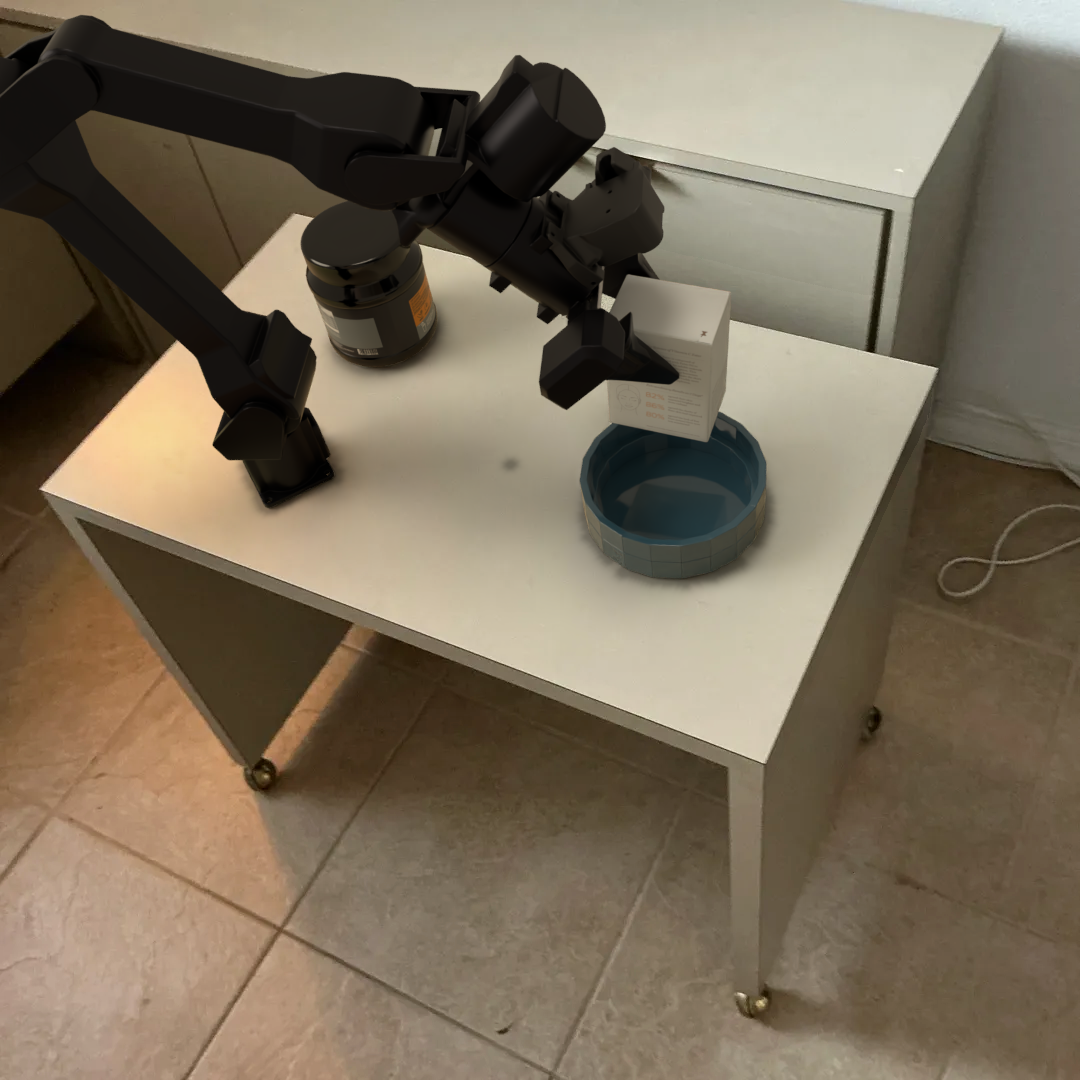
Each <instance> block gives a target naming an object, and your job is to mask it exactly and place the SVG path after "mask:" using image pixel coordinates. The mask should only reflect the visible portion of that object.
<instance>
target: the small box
mask: <svg viewBox="0 0 1080 1080" xmlns="http://www.w3.org/2000/svg"><path fill="white" fill-rule="evenodd" d="M731 306H732V292H731V291H730V290H723V289H717V288H711V287H704V286H698V285H692V284H687V283H681V282H676V281H669V280H664V279H660V280H658V279H652V278H646V277H640V276H634V275H630V274H628V275H627V276H626V278H625V280H624V282H623V284H622V286H621V288H620V290H619V293H618V295H617V297H616V299H614V301H613V303H612V305H611V308H610V309H609V311H608V312H609V313H610V314H612V315H613V316H615V317H616V318H617V319H618V321H619V320H621V319H622V318H623V317H624V316H626V315H627V314H628V313H629V312H631V313H632V316H633V328H634V334H635V335H636V336H637V337H638V338H639V339H641V340H642V341H643V342H644V343H645V344H647V345H648V346H649V347H650V348H652V349H653V350H654V351H655V352H656V353H658V354H659V355H660V356H661V357H662V358H664V359H665V360H666V361H667V362H668V363H669V364H670V365H671V366H672V367H674V368H675V369H676V370H677V371H678V373H679V379H678V380H676V381H675V382H674V383H672V384H670V385H665V384H654V383H643V382H632V381H619V380H606V391H607V407H608V421H609V423H610V424H611V423H615V424H621V425H626V426H630V427H635V428H640V429H645V430H650V431H654V432H659V433H664V434H669V435H673V436H678V437H684V438H688V439H693V440H698V441H703V442H708V440H709V437H710V434H711V431H712V429H713V426H714V423H715V420H716V417H717V414H718V412H719V411H720V410H721V409H720V408H721V406H722V403H723V399H724V397H725V394H726V392H727V377H728V358H729V345H730V344H729V342H730V323H731V311H732V310H731V309H732V307H731Z"/></svg>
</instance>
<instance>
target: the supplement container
mask: <svg viewBox="0 0 1080 1080" xmlns="http://www.w3.org/2000/svg"><path fill="white" fill-rule="evenodd" d="M299 244H300V250H301V254H302V256H303V258H304V261H305V263H306V269H305V278H306V283H307V285H308V288H309V290H310V292H311V293H312V296H313V297H314V300H315V302H316V305H317V308H318V311H319V314H320V316H321V319H322V321H323V324H324V327H325V329H326V332H327V336H328V339H329V340H328V341H329V343H330V345H331V347H332V348H333V350H334V351H335V353H337V355H339V357H340V358H342V359H343V360H345V361H346V362H348V363H350V364H353V365H356V366H359V367H363V368H384V367H389V366H393V365H397V364H400V363H402V362H405V361H407V360H409V359H411V358H413V357H415V356H416V355H417V354H419V353H420V352H421V351H423V350H424V349H425V348H426V347H427V345H428V344H429V343H430V342H431V341H432V339H433V337H434V335H435V333H436V330H437V327H438V320H439V319H438V318H439V317H438V310H437V306H436V304H435V301H434V299H433V295H432V291H431V287H430V283H429V280H428V276H427V272H426V269H425V264H424V257H423V256H424V255H423V252H422V251H423V250H422V247H421V245H420V243H419V242H418V240H417V238H416V239H415V241H414V242H413V243H412V244H411V245H410V246H408V247H403V246H402V245H401V244H400V242H399V234H398V226H397V222H396V219H395V216H394V215H393V213H392V210H389V211H379V210H371V209H368V208H365V207H362V206H360V205H357V204H355V203H352V202H350V201H347V200H344V201H342V202H339V203H337V204H334V205H331V206H329V207H328V208H326V209H324V210H322V211H321V212H320V213H318V214H317V215H316V216H314V218H312V219H311V220H310V221H309V223H308V224H307V225H306V226H305V228H304V230H303V231H302V234H301V237H300V243H299Z"/></svg>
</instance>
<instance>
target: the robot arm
mask: <svg viewBox="0 0 1080 1080" xmlns="http://www.w3.org/2000/svg"><path fill="white" fill-rule="evenodd" d="M91 111H92V112H98V113H101V114H104V115H109V116H112V117H116V118H120V119H124V120H128V121H132V122H135V123H139V124H143V125H147V126H151V127H155V128H158V129H163V130H166V131H170V132H175V133H178V134H180V135H181V134H182V135H185V136H190V137H193V138H196V139H200V140H205V141H209V142H213V143H217V144H220V145H223V146H227V147H232V148H235V149H239V150H243V151H247V152H251V153H254V154H259V155H263V156H267V157H269V158H273V159H276V160H278V161H281V162H283V163H285V164H288V165H290V166H292V168H294V169H295V170H296V171H298V172H299V173H300V174H301V175H302V176H303V177H304V178H305V179H307V180H308V181H309V182H310V183H311V184H312V185H314V186H315V187H316V188H317V189H319V190H321V191H323V192H325V193H328V194H330V195H333V196H335V197H338V198H340V199H343V200H344V201H350V202H352V203H355V204H357V205H360V206H362V207H365V208H368V209H371V210H379V211H389V210H392V213H393V215H394V216H395V219H396V222H397V226H398V234H399V242H400V244H401V245H402V246H403V247H408V246H410V245H411V244H412V243H413V242H414V241H415V239H416V240H417V239H418V237H419V236H420V235H421V234H422V233H423V232H424V231H425V230H426V229H427V230H428V231H430V232H431V233H433V234H434V235H436V236H437V237H439V238H440V239H442V240H443V241H444V242H446V243H448V244H449V245H451V246H452V247H454V248H455V249H457V250H458V251H459V252H461V253H463V254H464V255H466V256H468V257H469V258H470V259H472V260H473V261H475V262H476V263H478V264H479V265H481V266H482V267H484V268H485V269H487V270H488V271H490V278H489V283H488V286H489V287H490V288H492V289H493V290H494V291H497V292H498V293H499V294H502V293H503V292H504V291H506V290H507V288H508V287H510V285H511V286H512V287H514V288H515V289H516V290H518V291H520V292H521V293H523V294H524V295H526V296H527V297H528V298H530V299H532V300H533V301H535V302H536V303H538V304H537V312H536V318H537V319H539V320H540V321H542V322H543V323H545V324H546V325H549V324H550V323H551V322H552V321H554V320H555V319H556V318H557V317H558V316H563V317H565V319H566V320H567V321H566V322H567V323H566V325H565V327H564V328H562V329H561V330H559V332H558V333H556V334H555V335H554V336H553V337H552V338H551V339H549V340H548V341H547V342H546V343H545V344H544V345H543V346H542V353H541V361H540V369H539V377H538V385H539V386H538V387H539V393H540V395H541V397H543V398H545V399H547V400H548V401H550V402H551V403H553V404H554V405H556V406H558V407H559V408H561V409H563V410H566V411H568V410H569V409H570V408H572V407H573V406H574V405H576V404H577V403H579V402H580V401H581V400H582V399H584V398H585V397H586V396H587V395H589V394H590V393H591V392H593V391H594V390H595V389H596V388H597V387H599V386H600V385H602V384H603V383H604V382H605V381H607V380H619V381H632V382H643V383H654V384H665V385H670V384H672V383H674V382H675V381H676V380H678V379H679V373H678V371H677V370H676V369H675V368H674V367H672V366H671V365H670V364H669V363H668V362H667V361H666V360H665V359H664V358H662V357H661V356H660V355H659V354H658V353H656V352H655V351H654V350H653V349H652V348H650V347H649V346H648V345H647V344H645V343H644V342H643V341H642V340H641V339H639V338H638V337H637V336H636V335H635V334H634V328H633V316H632V313H631V312H629V313H628V314H627V315H626V316H624V317H623V318H622V319H621V320H619V321H618V319H617V318H616V317H615V316H613V315H612V314H610V313H609V312H610V311H608V310H607V309H604V308H603V307H602V298H603V295H604V296H607V297H610V298H611V299H614V300H615V299H616V297H617V295H618V293H619V290H620V288H621V286H622V284H623V282H624V280H625V278H626V276H627V275H628V274H630V275H634V276H640V277H646V278H652V279H658V280H661V279H660V277H659V276H658V275H657V273H656V271H654V269H653V267H652V266H651V265H650V263H649V262H648V260H647V259H646V256H645V255H644V254H647V253H649V252H651V251H653V250H655V249H656V248H657V247H658V246H659V245H660V244H661V243H662V242H663V239H664V228H663V219H664V217H663V216H664V213H665V205H664V203H663V202H662V200H661V199H660V197H659V195H658V193H657V192H656V190H655V189H654V187H653V186H652V175H653V174H652V173H653V172H652V169H651V168H650V167H649V166H646V165H642V164H641V162H640V161H639V160H636V159H635V158H634V157H632V156H630V155H628V154H627V153H626V152H624V151H622V150H620V149H618V148H617V147H615V146H613V147H611V148H608V149H607V150H604V151H602V152H600V153H597V155H596V156H595V166H594V167H595V168H594V179H593V180H591V182H587V183H586V184H585V188H583V190H582V191H581V192H579V194H578V195H577V196H576V197H574V199H571V198H568V197H566V196H565V195H564V194H562V193H560V192H559V191H558V190H554V191H552V190H551V189H552V188H553V187H554V185H556V184H557V182H558V181H560V179H561V178H562V177H564V175H566V174H567V172H569V170H570V169H571V168H572V167H573V166H574V165H576V163H577V162H579V160H580V159H582V157H584V155H585V154H587V152H588V151H589V150H590V149H592V147H593V146H594V145H596V143H598V141H600V139H601V138H603V136H604V134H605V132H606V129H607V123H606V116H605V114H604V111H603V108H602V107H601V105H600V103H599V101H598V99H597V97H596V96H595V94H594V93H593V92H592V91H591V89H590V87H588V86H587V84H586V83H585V82H584V81H583V80H582V79H581V78H580V77H578V75H576V74H575V73H574V72H573V71H572V70H570V69H569V68H568V67H563V68H562V67H560V66H558V65H556V64H553V63H550V62H543V61H542V62H541V61H540V62H537V63H535V64H532V63H531V62H530V61H529V60H528V59H526V58H525V57H523V56H522V55H521V54H515V55H514V56H513V57H512V58H511V60H509V62H508V63H507V64H506V66H504V68H503V70H502V72H501V74H500V76H499V78H498V80H497V81H496V82H495V84H493V86H492V87H491V89H489V90H488V92H487V93H486V94H485V95H484V96H483V98H482V99H481V94H480V93H479V92H478V91H476V90H469V89H454V88H453V89H452V88H440V87H428V86H427V87H426V86H414V84H411V83H410V82H407V81H405V80H403V79H400V78H397V77H393V76H385V75H375V74H367V73H359V72H358V73H357V72H349V71H341V72H335V73H330V74H325V75H319V76H314V77H300V76H291V75H285V74H282V73H278V72H274V71H271V70H267V69H263V68H259V67H255V66H252V65H250V64H249V65H248V64H246V63H242V62H238V61H233V60H230V59H228V58H227V59H226V58H222V57H220V56H216V55H211V54H208V53H205V52H200V51H197V50H193V49H190V48H186V47H182V46H179V45H175V44H171V43H168V42H163V41H160V40H156V39H153V38H149V37H146V36H142V35H137V34H135V33H130V32H127V31H123V30H119V29H115V28H113V27H111V25H109V24H108V23H107V22H106V21H105V20H103V19H100V18H98V17H96V16H93V15H87V14H79V15H76V16H73V17H69V18H67V19H65V20H64V21H63V22H62V23H60V25H59V26H58V27H57V28H55V29H54V30H52V31H48V32H46V33H43V34H39V35H35V36H33V37H31V38H30V39H28V40H26V41H25V42H24V43H22V44H21V45H20V46H18V47H17V48H15V49H14V50H11V52H9V53H8V54H7V55H5V56H4V57H3V56H0V209H1V210H5V211H8V212H12V213H15V214H19V215H24V216H27V217H31V218H34V219H39V220H42V221H43V222H45V223H46V224H47V225H48V226H50V227H51V228H52V229H53V230H54V231H55V232H56V233H57V234H58V235H60V236H61V237H62V238H63V239H64V240H65V241H66V242H67V243H69V244H70V245H71V246H72V247H73V248H74V249H75V250H76V251H77V252H79V253H80V254H81V255H82V256H83V257H84V258H85V259H86V260H88V262H90V263H91V264H92V265H93V266H94V267H95V268H96V269H97V270H99V271H100V272H101V273H102V275H104V276H105V277H106V278H108V279H109V281H110V282H112V283H113V284H114V285H115V286H116V287H117V288H118V289H120V290H121V291H122V292H123V293H124V294H125V295H126V296H128V297H129V298H130V299H131V300H132V301H133V302H134V303H135V304H136V305H137V306H139V307H140V308H141V310H143V311H144V312H145V313H146V314H148V316H149V317H150V318H152V319H153V320H154V322H156V323H157V324H158V325H160V326H161V327H162V328H163V329H164V330H165V331H166V332H167V333H168V334H169V335H171V336H172V337H173V339H175V340H176V341H178V343H180V345H182V346H183V347H184V348H185V349H186V350H188V352H190V353H191V354H192V355H193V356H194V358H195V359H196V360H197V363H198V365H199V368H200V370H201V374H202V376H203V378H204V381H205V383H206V385H207V388H208V391H209V393H210V396H211V399H212V400H214V401H215V402H216V404H217V405H218V406H219V407H220V409H222V411H223V412H222V415H221V418H220V421H219V424H218V426H217V430H216V433H215V435H214V438H213V441H212V444H211V445H212V447H213V448H214V449H215V450H216V451H217V452H218V453H219V454H220V455H221V456H223V458H225V459H226V460H227V461H242V463H243V465H244V468H245V470H246V472H247V473H248V475H249V477H250V479H251V482H252V483H253V486H254V488H255V490H256V493H257V494H258V496H259V498H260V500H261V502H262V504H263V506H264V507H265V508H267V509H271V508H273V507H276V506H278V505H280V504H282V503H285V502H286V501H289V500H290V499H293V498H295V497H297V496H299V495H301V494H303V493H306V492H307V491H310V490H311V489H314V488H316V487H318V486H320V485H323V484H324V483H327V482H329V481H330V480H332V479H334V477H335V471H334V469H333V467H332V466H331V464H330V461H329V460H328V459H329V458H330V457H331V455H332V453H331V452H330V451H331V450H330V449H329V446H328V444H327V442H326V439H325V437H324V435H323V433H322V431H321V428H320V426H319V423H318V421H317V420H316V418H315V417H314V415H313V413H312V411H311V409H310V408H309V407H306V404H307V401H308V397H309V394H310V391H311V387H312V383H313V381H314V378H315V373H316V370H317V359H318V357H317V354H316V351H315V350H314V349H313V348H312V346H311V344H312V343H313V337H311V336H309V335H307V334H306V333H303V332H302V331H301V330H300V329H298V328H297V327H296V326H295V325H294V324H293V322H292V321H291V320H290V318H289V317H288V315H286V313H285V312H284V311H282V310H280V309H274V310H273V311H271V312H270V313H269V314H267V315H264V314H260V313H256V312H251V311H248V310H243V309H241V308H240V307H239V306H238V305H237V304H236V303H234V301H232V300H231V299H230V297H228V296H227V295H226V294H225V293H224V292H223V291H222V290H221V289H220V288H219V286H217V285H216V284H215V283H214V282H213V281H212V280H211V279H210V278H209V277H208V276H207V275H206V274H205V273H204V272H202V270H201V269H200V268H198V266H196V264H195V263H193V262H192V261H191V260H190V259H189V258H188V257H187V255H185V254H184V253H183V252H182V251H181V250H180V249H179V248H178V247H177V246H176V245H175V244H174V243H173V242H172V241H171V240H170V239H169V238H168V237H167V236H166V235H165V234H163V233H162V231H161V230H159V228H157V226H155V225H154V224H153V223H152V222H151V221H150V220H149V219H148V218H147V217H146V215H144V214H143V213H142V212H141V210H139V209H138V207H136V206H135V205H134V204H133V203H132V202H130V201H129V199H127V197H126V196H125V195H124V194H123V193H121V191H120V190H119V189H117V188H116V187H115V186H114V185H113V184H112V183H111V182H110V180H108V179H107V178H106V177H105V176H104V175H103V174H102V173H101V172H100V171H99V170H98V169H97V167H96V165H94V163H93V160H92V158H91V156H90V152H89V150H88V147H87V145H86V143H85V141H84V137H83V135H82V133H81V130H80V128H79V126H78V123H77V121H76V120H78V119H79V118H81V117H82V116H84V115H86V114H87V113H89V112H91ZM439 129H440V130H441V131H440V134H439V138H438V142H437V146H436V151H435V155H430V151H431V147H432V143H433V139H434V134H435V130H439Z"/></svg>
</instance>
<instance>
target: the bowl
mask: <svg viewBox="0 0 1080 1080" xmlns="http://www.w3.org/2000/svg"><path fill="white" fill-rule="evenodd" d="M763 452H764V451H763V450H762V448H761V445H760V443H759V441H758V440H757V438H755V436H754V435H753V434H752V433H751V432H750V431H749V430H748V429H747V428H746V426H744V425H743V424H742V423H741V422H739V421H737V420H736V419H734V418H732V417H731V416H728V415H727V414H726V413H723V412H721V411H720V410H719V412H718V414H717V417H716V420H715V423H714V426H713V429H712V431H711V434H710V437H709V440H708V442H703V441H698V440H693V439H688V438H684V437H678V436H673V435H669V434H664V433H659V432H654V431H650V430H645V429H640V428H635V427H630V426H626V425H621V424H615V423H611V422H610V424H609V425H608V426H607V427H606V428H605V429H603V430H602V431H601V432H600V433H599V434H598V435H597V436H595V437H594V438H593V440H592V442H591V443H590V446H589V447H588V449H587V450H586V451H585V454H584V455H583V457H582V461H581V467H580V472H579V473H580V474H579V487H580V493H581V500H582V506H583V512H584V516H585V517H584V518H585V520H586V524H587V525H586V526H587V528H588V532H589V535H590V537H591V538H592V540H593V541H594V543H595V544H596V545H597V546H598V548H599V550H601V551H602V553H603V554H604V555H605V556H606V557H608V558H610V559H611V560H612V561H614V562H615V563H616V564H618V565H620V566H621V567H622V568H623V569H626V570H629V571H631V572H634V573H638V574H641V575H644V576H646V577H650V578H656V579H658V578H659V579H687V578H692V577H696V576H700V575H705V574H710V573H713V572H715V571H717V570H718V569H721V568H723V567H725V566H726V565H728V564H730V563H732V562H733V561H735V560H737V559H738V558H739V557H740V556H741V555H742V554H743V553H744V552H745V551H746V550H747V549H748V548H749V547H750V546H751V545H752V544H753V543H754V542H755V540H756V538H757V536H758V534H759V532H760V529H761V527H762V525H763V523H764V521H765V518H766V517H765V515H766V497H767V496H766V495H767V469H768V468H767V467H768V466H767V465H768V463H767V460H766V457H765V455H764V453H763Z"/></svg>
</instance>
